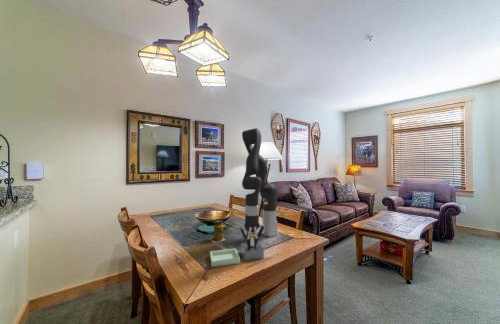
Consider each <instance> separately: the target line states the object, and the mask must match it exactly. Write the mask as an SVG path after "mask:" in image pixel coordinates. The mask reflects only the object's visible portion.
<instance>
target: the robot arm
mask: <svg viewBox="0 0 500 324" xmlns="http://www.w3.org/2000/svg"><path fill="white" fill-rule="evenodd" d="M241 139H242V141H243V143H244V146H245V150H246V152H247V153H248V155H247V158H246V159H245V160H246V161H245V172H244V176H243V177H242V181H241V186H242V188H243V189H244V190H246V191H247V190H249V191H250V190H252V191H253V190H254V192H251V193H247V194H246V195H245V201H244V203H245V205H244V225H243V226H240V227H239V230H240V232H241V235H242V237H243V238H244V239H246V243H247V245H248V246H250V239H249V238H250V236H249V235H250V234H251V233H252V232H254V234H256V236H255V245H256V244H257V242H258V239H259V238H260V237H261V236H262V235H263V236H265V237H275V236H278V220H277V208H278V207H277V206H278V189H277V187H275V186H270V185H269V186H268V185H267V181H266V179H267V175H268V172H269V169H268V164H267V162H266V159H265V158H264V157H263V156H262V155H261V154H260V150H261V146H262V134H261V130H260V129H259V128H258V127H257V128H251V129H246V130H244V131H242V134H241ZM259 196H260V197H261V199H263V200H265V201H266V200H267V201H268V203H267V204H264V205H263V206H262V224H260V209H259V207H260V206H259ZM245 230H246V234H245Z"/></svg>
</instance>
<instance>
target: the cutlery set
mask: <svg viewBox="0 0 500 324" xmlns="http://www.w3.org/2000/svg"><path fill="white" fill-rule="evenodd" d="M206 224H207V223H204V224H201V225H199V226H197V231H200V232H197V231H193V230H192V231H189V232H187V233H184V236H186V237H191V238H192V239H196V240H198V237H199V238H202V237H203V236H204V237H206V235H205V234H203V233H208V234H209V235H212V234H214V226H207V225H206ZM224 229H226V224H224V223H223V230H224ZM201 232H202V233H201Z"/></svg>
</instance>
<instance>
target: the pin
mask: <svg viewBox="0 0 500 324" xmlns="http://www.w3.org/2000/svg"><path fill="white" fill-rule="evenodd" d="M249 236H250V238H249V239H250V246H249V248H255V236H256V234H254V232H252V233H251V234H250V235H249Z"/></svg>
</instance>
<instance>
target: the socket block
mask: <svg viewBox="0 0 500 324" xmlns="http://www.w3.org/2000/svg"><path fill="white" fill-rule="evenodd" d="M264 251H265V250H264V247H263V246H262V245H261V244H260V242H259V241H257V244H256V245H255V248H249V246H248V245H247V242H243V243H240V253H241V256H242V257H243V260H244V261H245V262H247V261H253V260H254V261H255V260H261V259H264V254H265V253H264Z"/></svg>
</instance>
